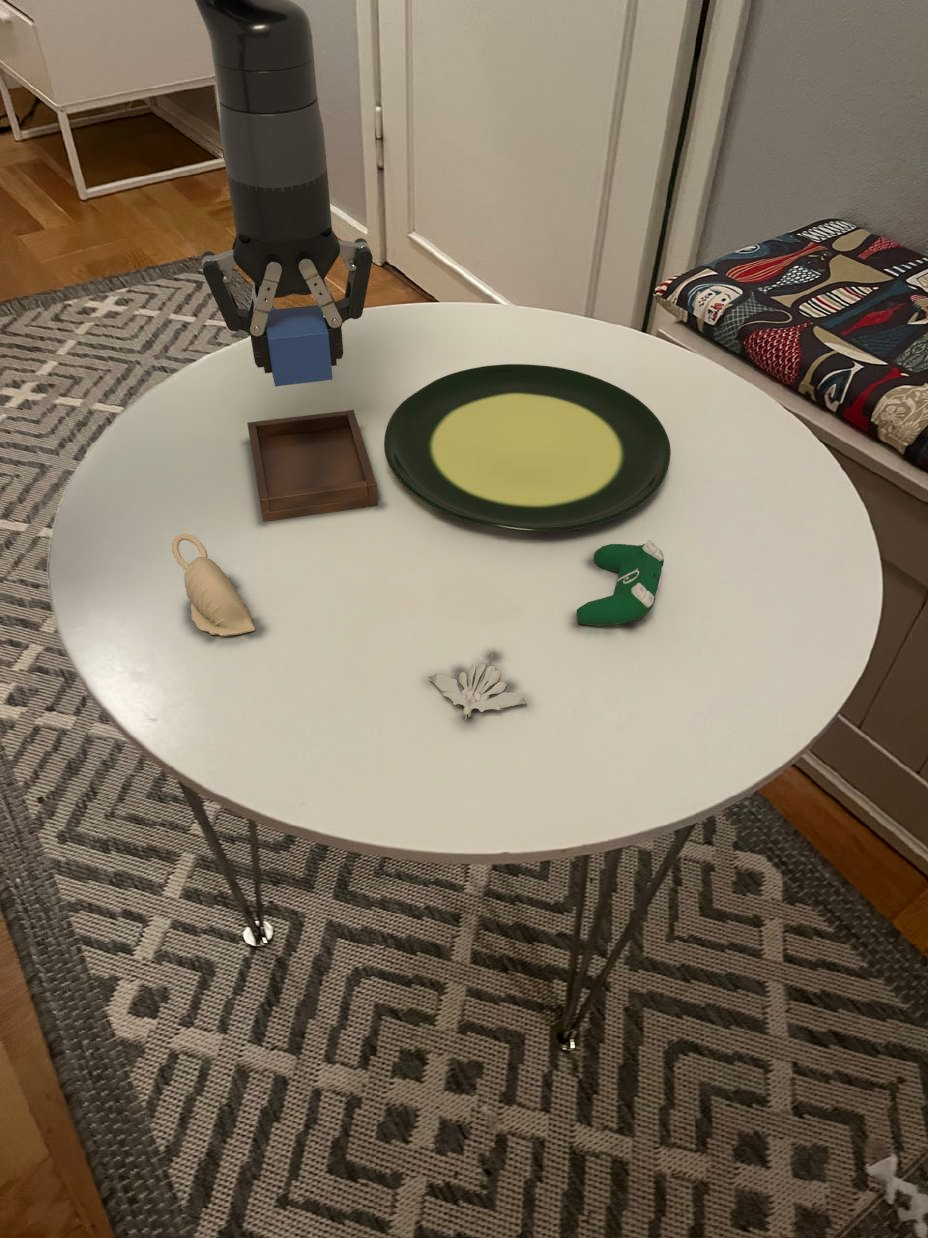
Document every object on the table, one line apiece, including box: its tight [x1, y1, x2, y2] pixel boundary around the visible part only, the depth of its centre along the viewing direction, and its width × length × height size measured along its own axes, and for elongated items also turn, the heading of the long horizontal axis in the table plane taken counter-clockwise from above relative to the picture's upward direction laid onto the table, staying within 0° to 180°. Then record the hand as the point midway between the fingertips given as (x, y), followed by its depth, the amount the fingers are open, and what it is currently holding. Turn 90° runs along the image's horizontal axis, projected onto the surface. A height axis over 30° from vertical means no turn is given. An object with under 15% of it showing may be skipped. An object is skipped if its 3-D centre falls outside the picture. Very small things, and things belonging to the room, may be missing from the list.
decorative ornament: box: [171, 533, 257, 637], centre depth 77 cm, size 4×8×5 cm, turn 29°
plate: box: [383, 363, 672, 533], centre depth 94 cm, size 28×28×2 cm
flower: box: [427, 652, 528, 720], centre depth 73 cm, size 8×8×3 cm
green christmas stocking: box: [576, 539, 665, 626], centre depth 80 cm, size 9×4×6 cm
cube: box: [265, 304, 333, 387], centre depth 82 cm, size 5×5×4 cm
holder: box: [246, 409, 378, 522], centre depth 91 cm, size 11×13×2 cm
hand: (300, 364), depth 84 cm, fingers closed on cube, 5 cm apart
